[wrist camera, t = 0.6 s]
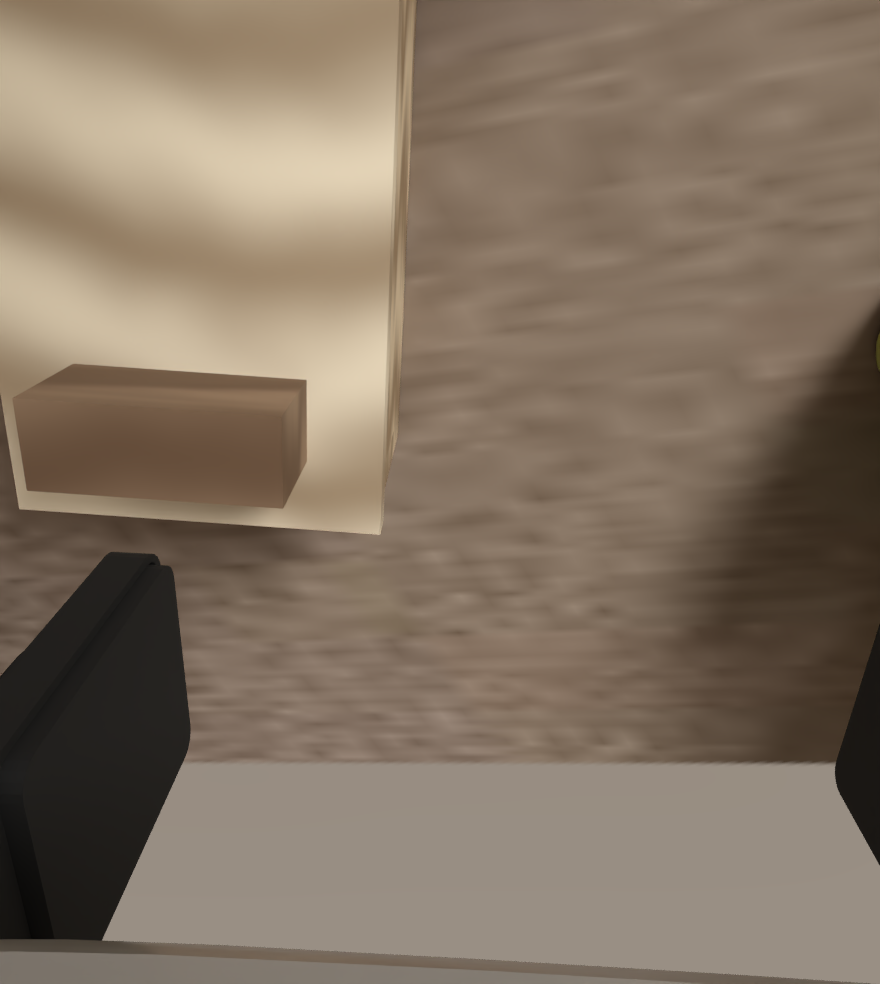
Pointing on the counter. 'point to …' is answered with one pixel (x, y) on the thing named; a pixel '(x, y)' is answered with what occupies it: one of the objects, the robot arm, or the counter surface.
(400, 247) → the wooden box
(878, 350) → the lungs
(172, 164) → the lid
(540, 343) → the counter surface
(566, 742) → the counter surface
